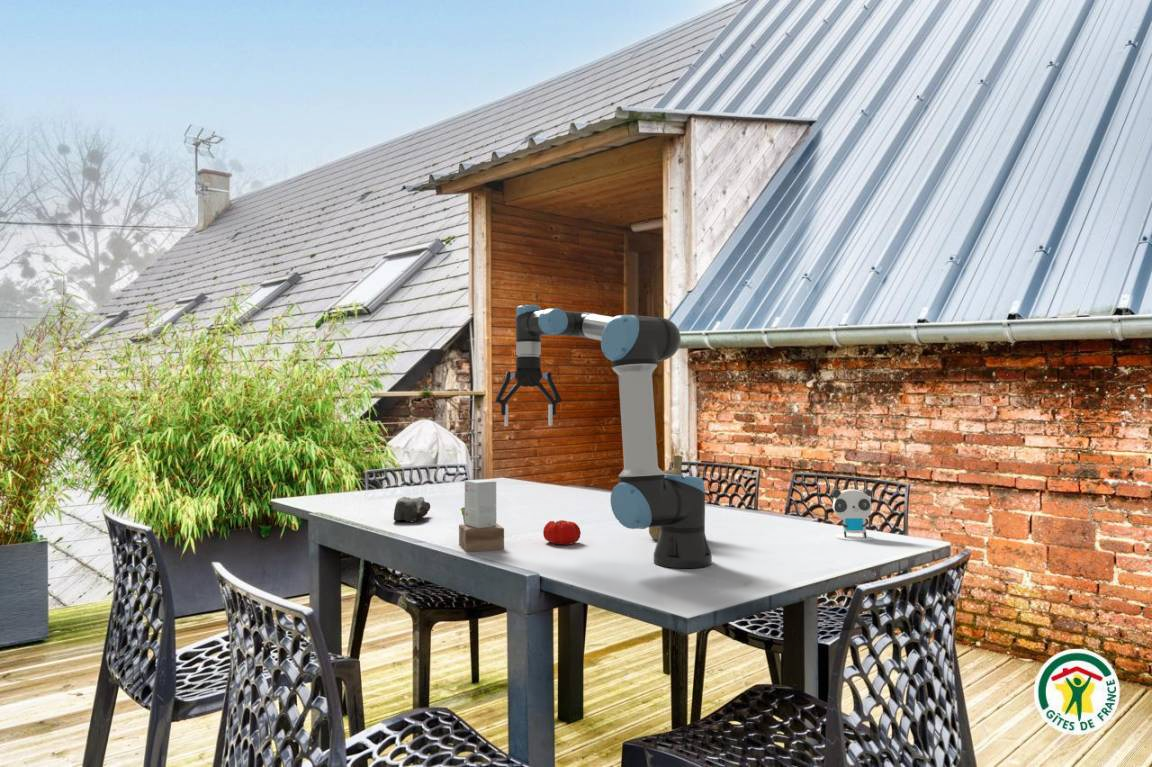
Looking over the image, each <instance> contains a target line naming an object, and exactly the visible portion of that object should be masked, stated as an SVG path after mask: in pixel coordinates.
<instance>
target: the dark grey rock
mask: <svg viewBox="0 0 1152 767" xmlns="http://www.w3.org/2000/svg"><path fill="white" fill-rule="evenodd" d="M394 506H395V507H394V511H393V521H394V520H396V521H406V522H408V521H414V520H415V521H416V520H419V519H421V518H424V517H425V516H427V515H428V512H429V511H430V509H431V504H430V502H428V501H425V498H424V497H423V496H419V497H413V498H411V497H407V496H403V497H400V498H397V501H396V503H395V505H394ZM415 521H414V522H415Z"/></svg>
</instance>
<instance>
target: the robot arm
mask: <svg viewBox="0 0 1152 767" xmlns="http://www.w3.org/2000/svg"><path fill="white" fill-rule="evenodd" d="M515 314H516V315H515V316H516V317H515V339H516V341H515V342H516V344H515V355H516V358H515V372H510V371H506V372H505V378H504V380H503V383H502V384H501V387H500V389H499V390H498V393H497V395H496V396H495V399H494V402H495V403H497V404H500V415H501V416H504V423H503V424H504V427H508V426H509V404H507V403H508V401H509V400H510V399H511V398H512V397H513V395H515V393H516V392H517V390H519V389H520V387H523V388H527V387H529V388H534V387H536V388H538V389H539V391H540V392H541V393H542V394H543V396H544V397H545V398H546V399H547V400H548V402H549V403H550V404H548V405H547V406H548V407H547V408H548V410H547V411H548V413H547V414H548V416H547V417H548V423H547V424H548V425H547V426H550V427H553V419H554V418H553V416H555V415H556V413H557V412H556V411H557V406H556V405H557V404H558V403H561V402H562V400H563V399H562V397H561V395H560V392H559V391H558V388H556V385H555V383H554V381H553V378H552V372H550V371H548V372H542V367H541V366H542V365H541V364H542V361H541V360H542V359H541V357H540V356H541V355H542V350H541V349H542V347H541V346H542V345H541V344H542V343H541V342H542V341H541V340H542V336H561V337H577V338H585V339H591V340H595V341H600V346H601V347H600V348H601V351H602V353H603V355H604V357H605V358H606V359H608V360H609V361H611V369H612V370H613V372H614V373H616V374H617V376H618V388H619V389H618V390H619V392H618V393H619V403H620V404H619V406H620V418H621V419H620V420H621V421H620V423H621V439H622V440H621V441H622V455H623V469H622V471H621V472H620V473H619V474H618V483H617V484H616V485H615V486H613V488H612V491H611V492H610V506H611V511H612V513H613V516H614V517H615V519H616V520H617V521H618V523H619V524H621V525H622V526H623V527H624V528H625V529H626V528H627V529H630V530H631V529H632V530H635V529H640V530H645V529H647V528H648V529H649V527H655V526H660V536H659V539H658V540H657V543H656V545H655V549H654V552H653V563H654V564H655V565H658V566H661V567H668V568H674V569H698V568H704V567H708V566H711V565H712V562H713V561H712V560H713V558H712V552H711V550H710V549H711V548H710V546H709V543H708V540H707V536H706V529H705V528H706V526H705V525H706V521H705V520H706V490H705V481H704V479H703V478H701V476H700V477H699V476H692V475H683V474H682V475H674V474H664V472H663V471H664V470H662V469H661V468H659V464H658V448H657V435H656V434H657V433H656V431H657V430H656V417H655V416H656V415H655V414H656V413H655V400H654V386H653V372H654V371H655V369H657V367H658V362H662V361H666V360H669V359H670V358H672V357H673V356H674V355H675V354H677V352H678V350H679V348H680V346H681V341H682V339H681V338H682V337H681V332H680V329H679V328H678V326H677V325H676V324H675V323H674V322H673V321H671V320H670V319H668V318H664V317H659V316H648V315H647V316H646V315H645V316H644V315H638V314H620V315H615V316H610V315H603V314H597V313H595V312H588V311H572V310H562V309H561V308H546V309H542V310H541V306H540V305H535V304H524V305H523V304H522V305H518V306H517V307H516V313H515ZM513 378H515V380H516V381H517V382H516V383H515V384H514V385H513V387H512V388H511V389H510V390H509V391H508V392H507V394H506V395H505V396H504V393H505V392H506V389H507V387H508V385H509V383H510V381H511V380H513ZM542 378H544V380H546V382H547V384H548V386H549V388H550V391H551V393H552V394H550V393H549V391H548V390H547V389H546V388H545V386H544V385H543V383H542V382H541V379H542ZM552 395H553V396H552ZM503 396H504V397H503ZM502 397H503V398H502Z"/></svg>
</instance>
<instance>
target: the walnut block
mask: <svg viewBox="0 0 1152 767" xmlns="http://www.w3.org/2000/svg"><path fill="white" fill-rule="evenodd" d="M458 546H461V547H462V548H463V549H464V550H465V551H467V552H466V553H469V552H468V551H472V552H482V551H481V550H489V551H498V550H497V549H504V550H505V528H504V527H502V525H500V524H499V523H498V522H496V526H493V527H485V528H475V527H471V526H467V525H465V524H464V523H461V524H459V525H458ZM461 547H460V548H461ZM462 548H461V549H462ZM463 549H462V550H463ZM494 549H496V550H494ZM464 550H463V551H464ZM465 551H464V552H465Z"/></svg>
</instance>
